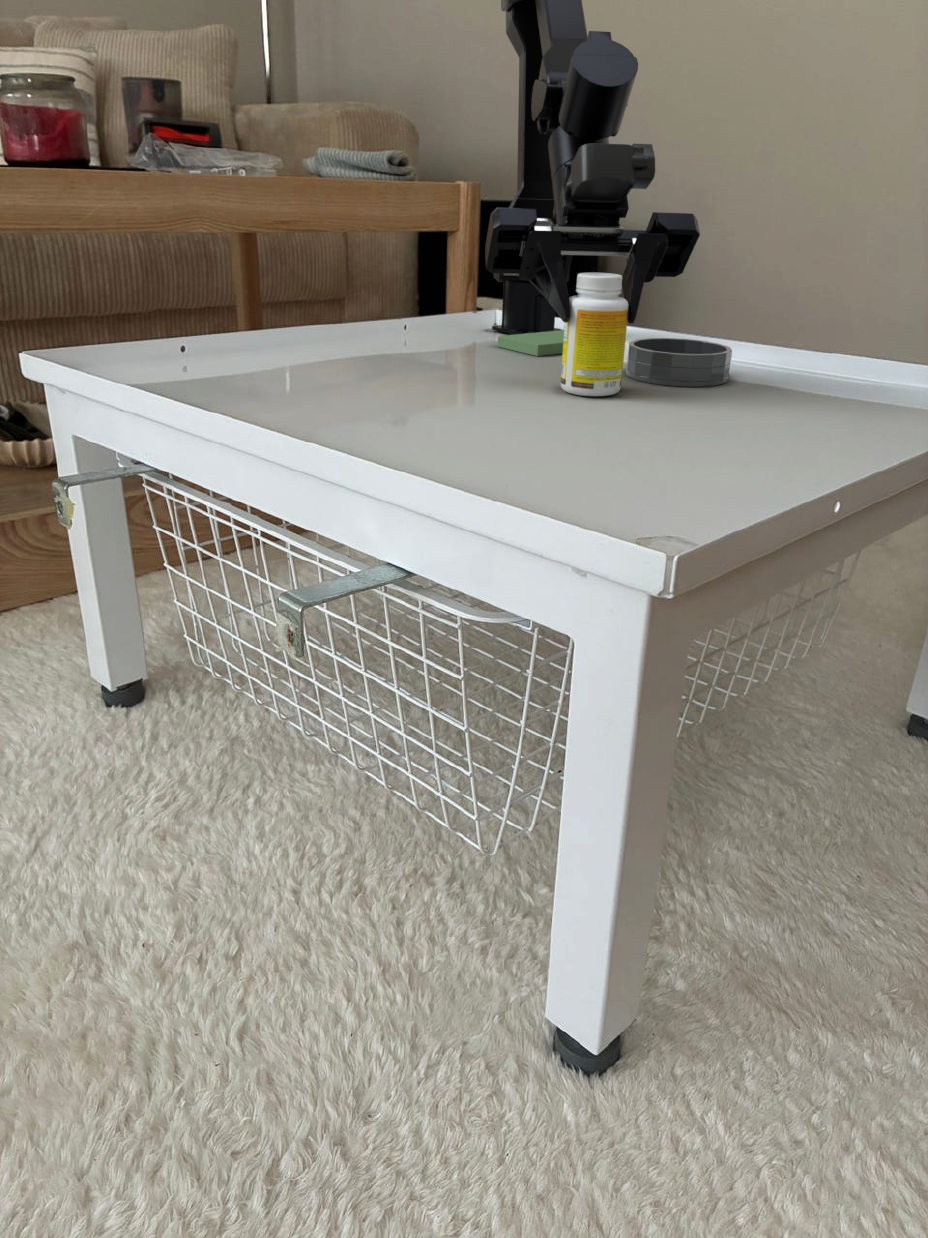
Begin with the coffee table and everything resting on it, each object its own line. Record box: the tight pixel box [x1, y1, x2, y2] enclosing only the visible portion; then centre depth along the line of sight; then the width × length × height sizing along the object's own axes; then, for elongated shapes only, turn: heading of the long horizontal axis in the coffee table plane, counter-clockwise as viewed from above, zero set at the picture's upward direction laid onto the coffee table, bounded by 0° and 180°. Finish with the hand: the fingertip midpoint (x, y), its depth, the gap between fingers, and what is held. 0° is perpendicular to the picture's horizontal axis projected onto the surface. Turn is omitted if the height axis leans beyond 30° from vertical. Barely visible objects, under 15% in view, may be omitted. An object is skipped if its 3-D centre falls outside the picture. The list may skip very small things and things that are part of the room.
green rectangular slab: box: [497, 329, 564, 357], centre depth 109 cm, size 7×10×1 cm
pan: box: [625, 337, 733, 388], centre depth 95 cm, size 10×10×3 cm
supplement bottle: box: [560, 271, 629, 397], centre depth 85 cm, size 6×6×10 cm
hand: (599, 319), depth 83 cm, fingers closed on supplement bottle, 5 cm apart
